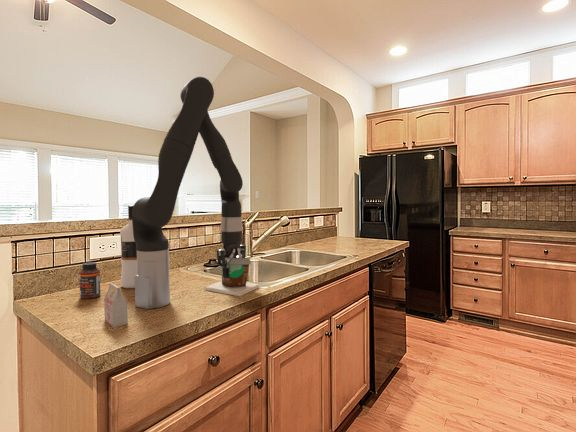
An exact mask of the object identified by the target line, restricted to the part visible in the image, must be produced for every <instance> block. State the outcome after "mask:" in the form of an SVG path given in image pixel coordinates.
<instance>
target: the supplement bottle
mask: <svg viewBox="0 0 576 432" xmlns="http://www.w3.org/2000/svg"><path fill="white" fill-rule="evenodd" d="M100 273H101V271H100V269H99V268H97V262H96V261H95V262H94V261H89V262H84V263H82V269H81V270H80V271H79V276H78V277H79V297H80V299H84V300H85V299H86V300H89V299H95V298H99V296H100V295H101V275H100Z"/></svg>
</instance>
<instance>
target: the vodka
mask: <svg viewBox="0 0 576 432" xmlns="http://www.w3.org/2000/svg"><path fill="white" fill-rule="evenodd" d="M133 206H134V205H133V204H131V205H128V206H127V210H128V211H127V212H128V220H127V221H128V223H127V224H126V225H124V226H123V227H122V228H121V229H120V232H119V233H120V247H121V248H120V251H121V252H120V253H121V255H120V256H121V259H120V262H121V274H120V275H121V276H120V280H119V281H120V282H119V283H120V286H121V287H122V288H123V289H135V275H137V247H136V243H135V241H134V236H133V224H132V210H133Z"/></svg>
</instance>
